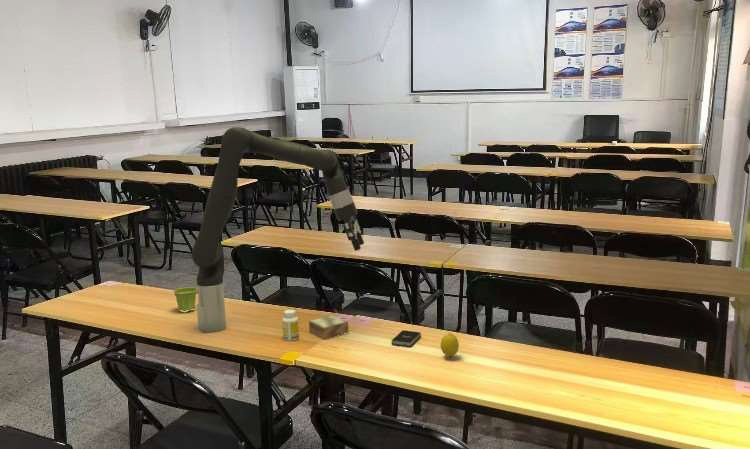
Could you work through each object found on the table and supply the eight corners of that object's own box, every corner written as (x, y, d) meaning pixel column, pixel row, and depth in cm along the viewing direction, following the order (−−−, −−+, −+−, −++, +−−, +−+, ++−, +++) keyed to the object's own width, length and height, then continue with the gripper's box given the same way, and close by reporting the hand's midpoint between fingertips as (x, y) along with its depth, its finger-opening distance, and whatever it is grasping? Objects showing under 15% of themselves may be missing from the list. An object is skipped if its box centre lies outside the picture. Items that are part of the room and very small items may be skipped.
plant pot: (177, 307, 247) (176, 287, 245) (201, 306, 248) (199, 286, 246) (172, 315, 238) (170, 293, 236) (196, 313, 239) (195, 292, 237)
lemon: (460, 355, 189) (460, 330, 188) (456, 361, 184) (456, 336, 183) (443, 353, 191) (442, 329, 190) (439, 359, 186) (438, 335, 185)
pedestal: (324, 339, 206) (323, 327, 205) (309, 332, 214) (309, 320, 213) (348, 333, 212) (347, 321, 211) (333, 326, 220) (332, 314, 219)
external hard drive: (391, 346, 199) (390, 340, 199) (402, 335, 209) (402, 329, 209) (410, 349, 197) (410, 343, 196) (421, 337, 207) (421, 332, 206)
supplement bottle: (300, 335, 211) (299, 308, 209) (297, 341, 205) (295, 313, 204) (285, 335, 211) (284, 308, 209) (281, 341, 206) (280, 313, 204)
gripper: (337, 205, 216) (353, 246, 218) (329, 211, 202) (346, 255, 205) (356, 198, 215) (372, 239, 217) (349, 203, 201) (367, 248, 203)
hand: (359, 247), depth 211 cm, fingers open, 8 cm apart
